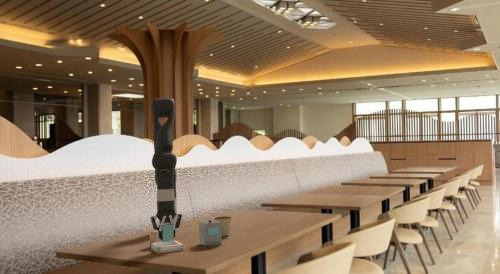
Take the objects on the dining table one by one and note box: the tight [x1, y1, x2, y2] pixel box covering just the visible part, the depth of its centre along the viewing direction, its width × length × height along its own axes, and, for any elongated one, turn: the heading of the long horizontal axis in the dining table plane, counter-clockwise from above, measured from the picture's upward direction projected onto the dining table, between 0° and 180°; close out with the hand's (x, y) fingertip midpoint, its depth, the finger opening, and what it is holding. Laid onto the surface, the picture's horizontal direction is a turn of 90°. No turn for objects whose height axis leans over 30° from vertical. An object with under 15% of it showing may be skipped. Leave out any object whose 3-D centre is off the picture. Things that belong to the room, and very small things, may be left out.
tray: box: [151, 240, 184, 254], centre depth 222 cm, size 11×11×2 cm
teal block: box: [160, 224, 175, 242], centre depth 222 cm, size 4×4×7 cm
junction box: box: [198, 219, 223, 248], centre depth 230 cm, size 7×8×11 cm
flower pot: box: [212, 215, 233, 237], centre depth 251 cm, size 9×9×9 cm
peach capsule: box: [149, 229, 161, 248], centre depth 229 cm, size 4×4×7 cm
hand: (166, 238), depth 222 cm, fingers closed on teal block, 4 cm apart
